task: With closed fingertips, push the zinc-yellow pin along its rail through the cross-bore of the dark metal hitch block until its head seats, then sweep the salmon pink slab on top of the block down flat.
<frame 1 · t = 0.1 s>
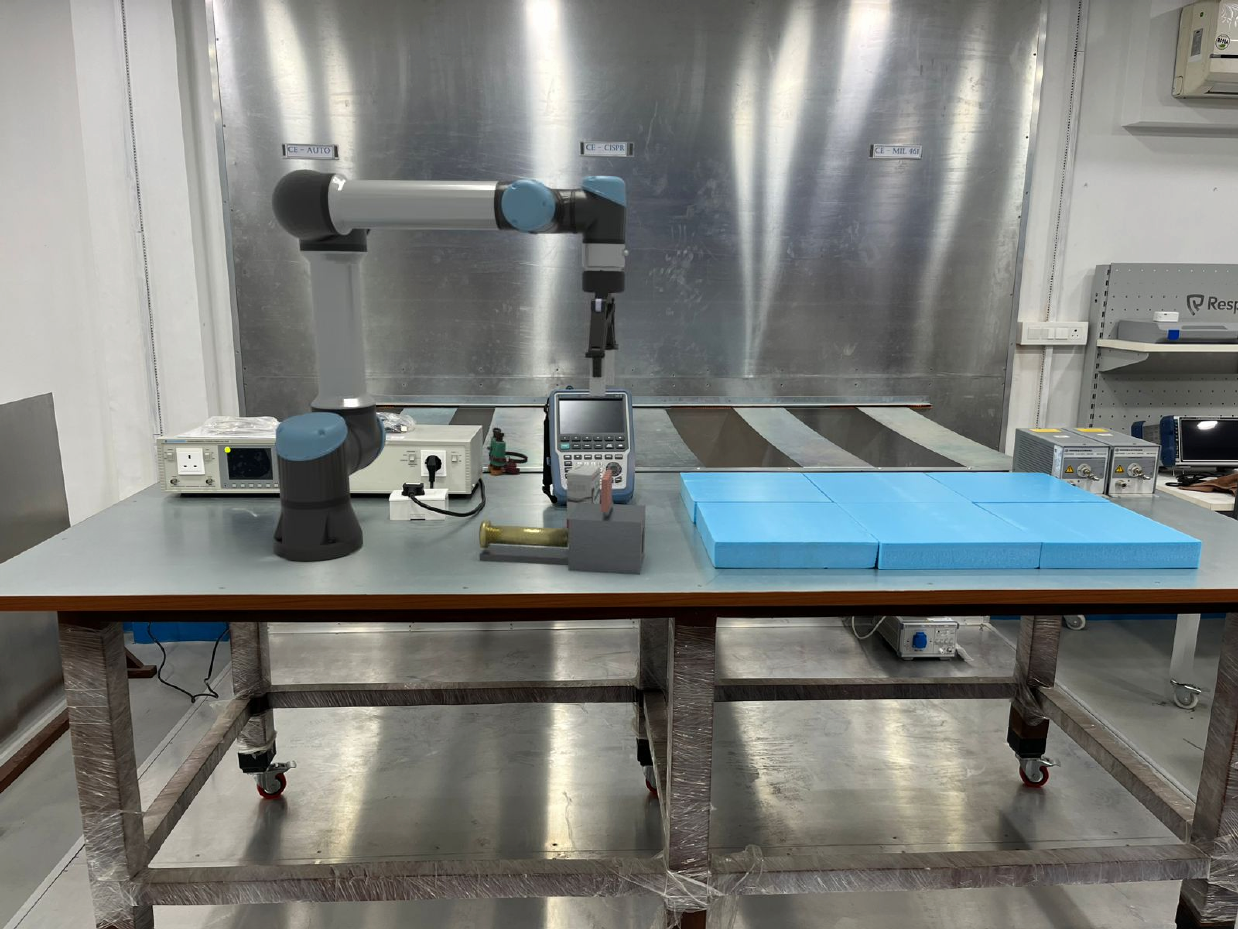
hand: (602, 390, 152), 28 cm above the table, fingers open, 13 cm apart
lynch pin: (524, 536, 146), point 4 cm above the table, slide at 0.0 cm
hitch block: (573, 560, 146), on the table
salmon pink slab: (607, 493, 143), point 12 cm above the table, hinge at 0.0°
ink box: (583, 528, 165), on the table
green pump: (507, 472, 208), on the table
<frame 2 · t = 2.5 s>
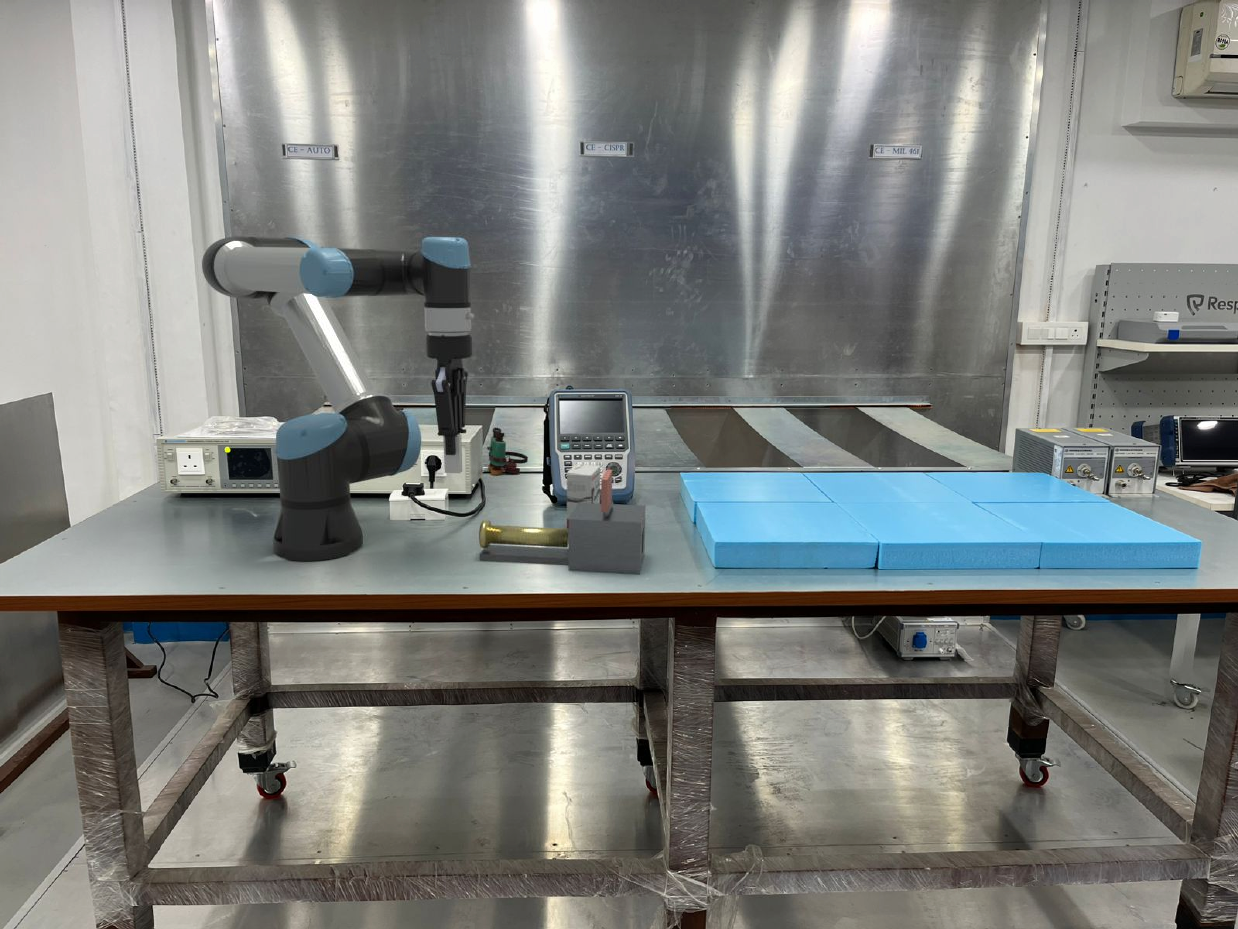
hand: (453, 471, 145), 15 cm above the table, fingers closed
nothing on the table moved.
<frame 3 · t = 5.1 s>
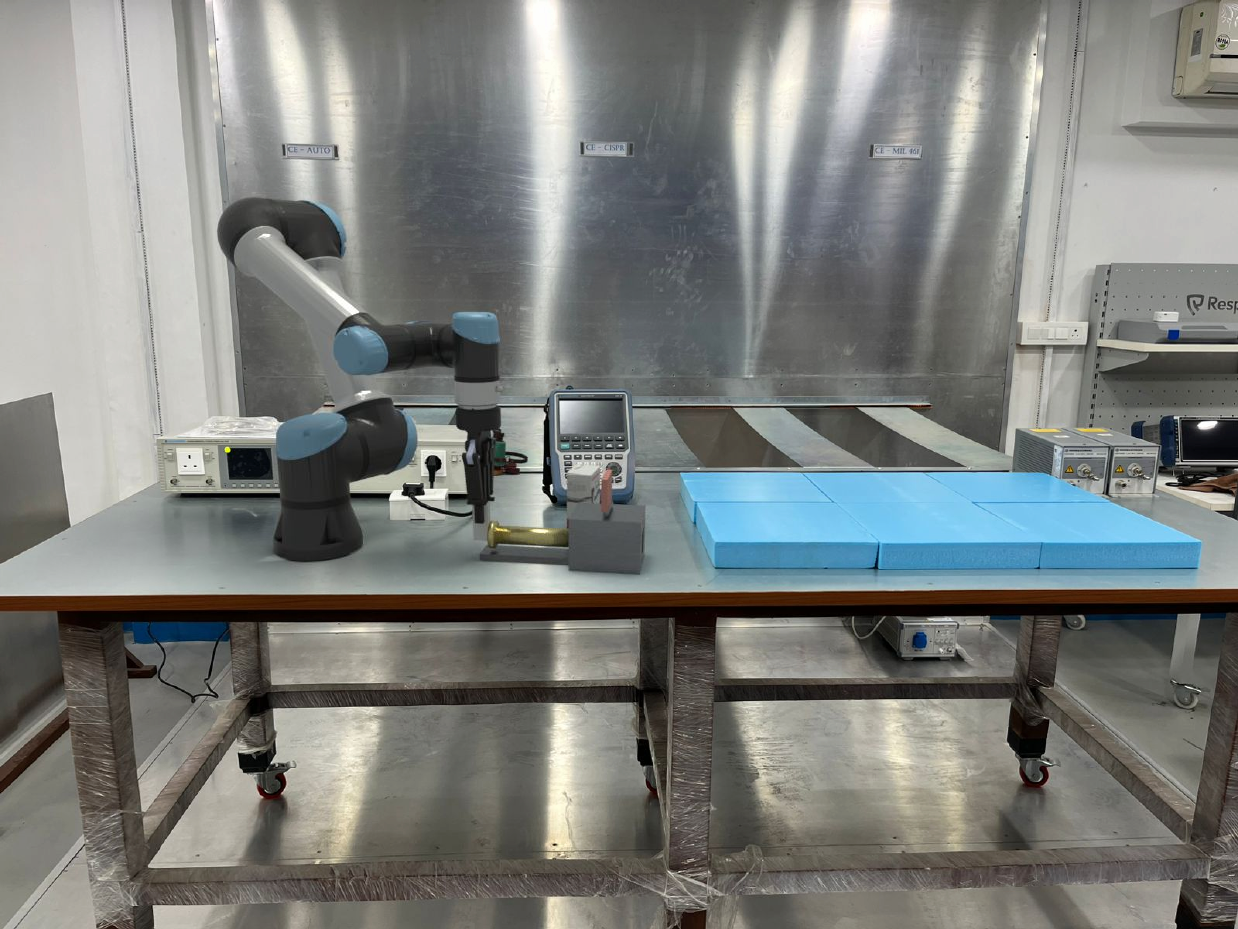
hand: (482, 539, 147), 3 cm above the table, fingers closed
lynch pin: (533, 536, 146), point 4 cm above the table, slide at 1.4 cm, touching gripper
everything else where it was.
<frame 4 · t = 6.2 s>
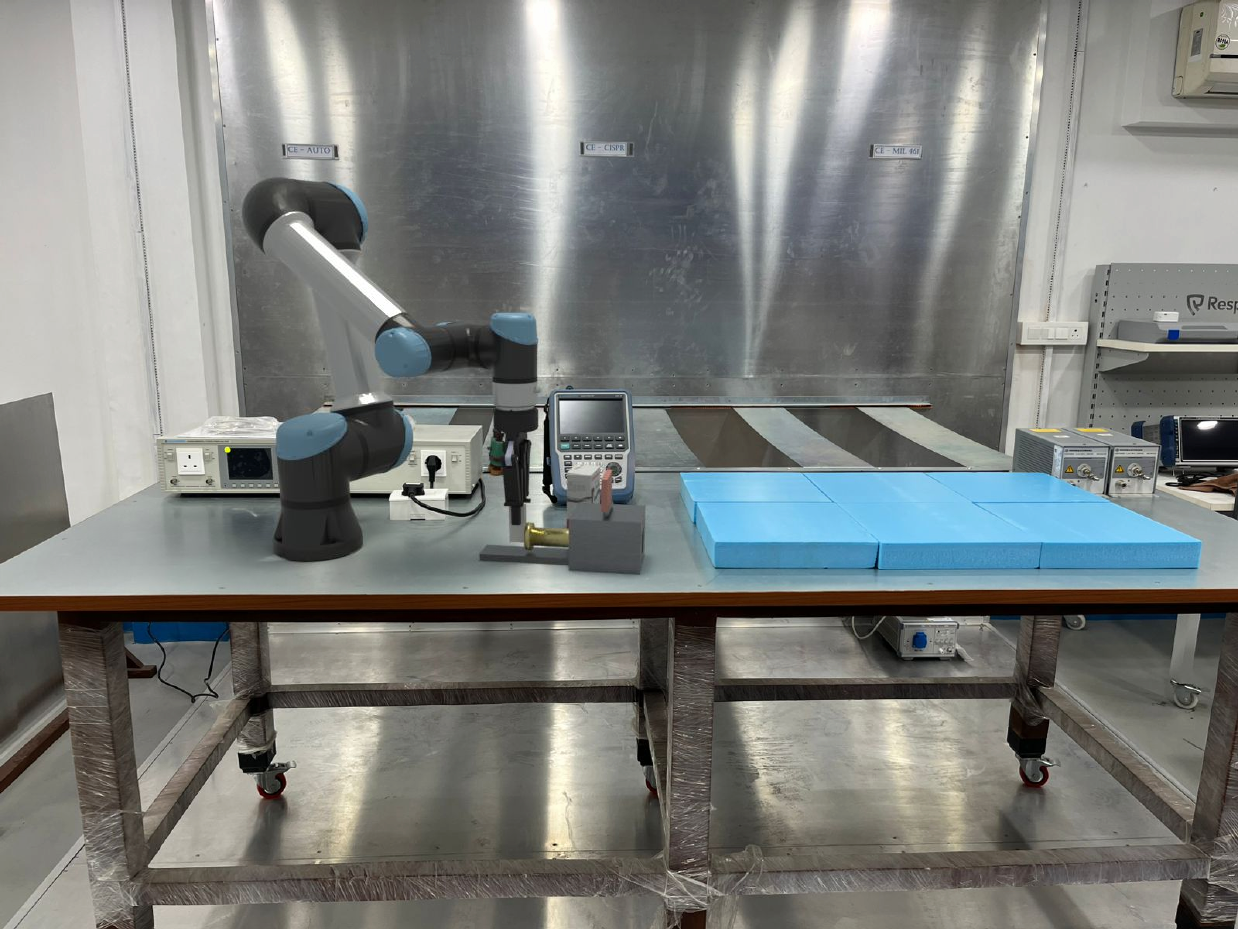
hand: (518, 540, 146), 3 cm above the table, fingers closed
lynch pin: (569, 538, 145), point 4 cm above the table, slide at 7.8 cm, touching gripper
everything else where it was.
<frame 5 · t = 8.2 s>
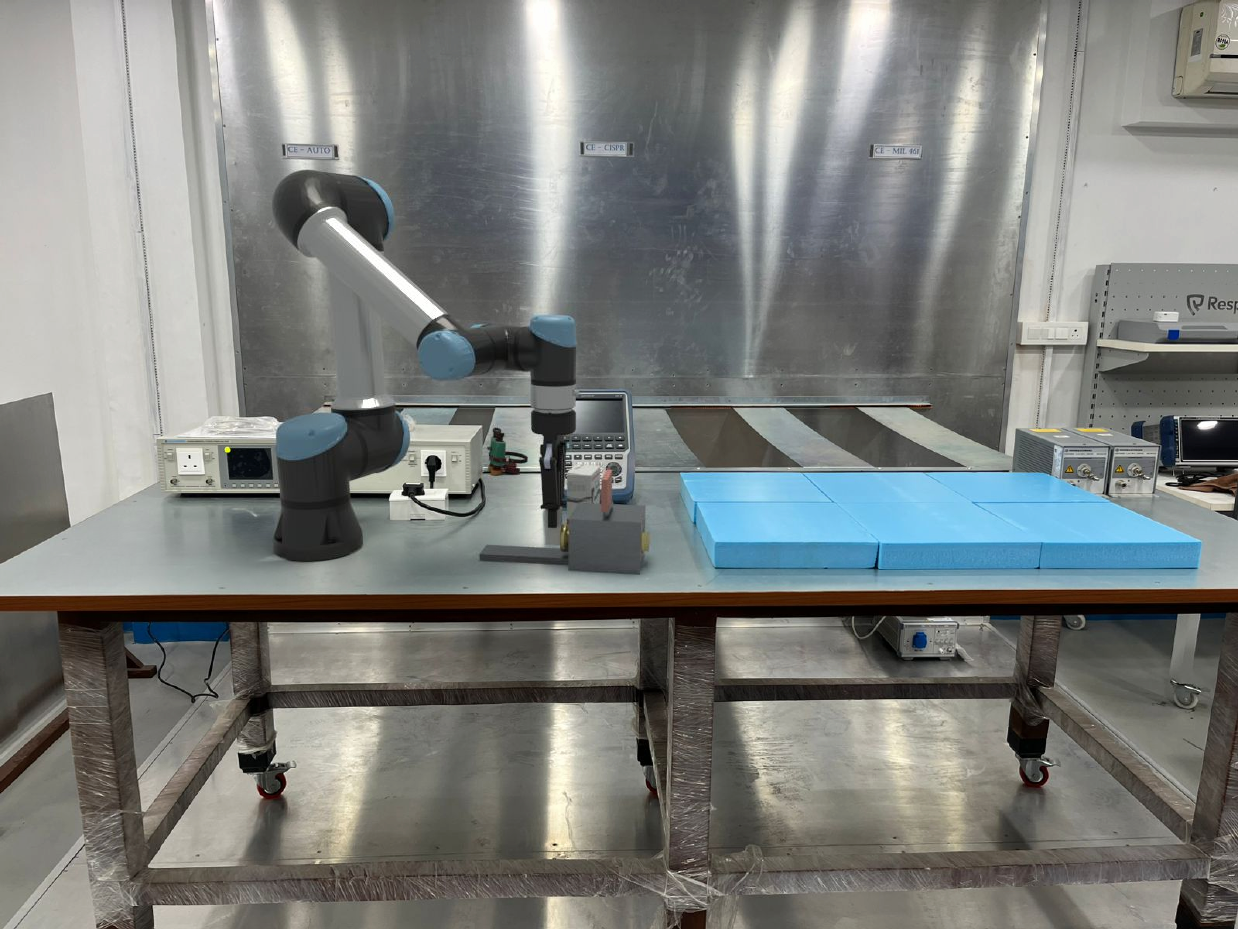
hand: (553, 543, 146), 3 cm above the table, fingers closed
lynch pin: (605, 540, 145), point 4 cm above the table, slide at 14.1 cm, touching gripper
everything else where it was.
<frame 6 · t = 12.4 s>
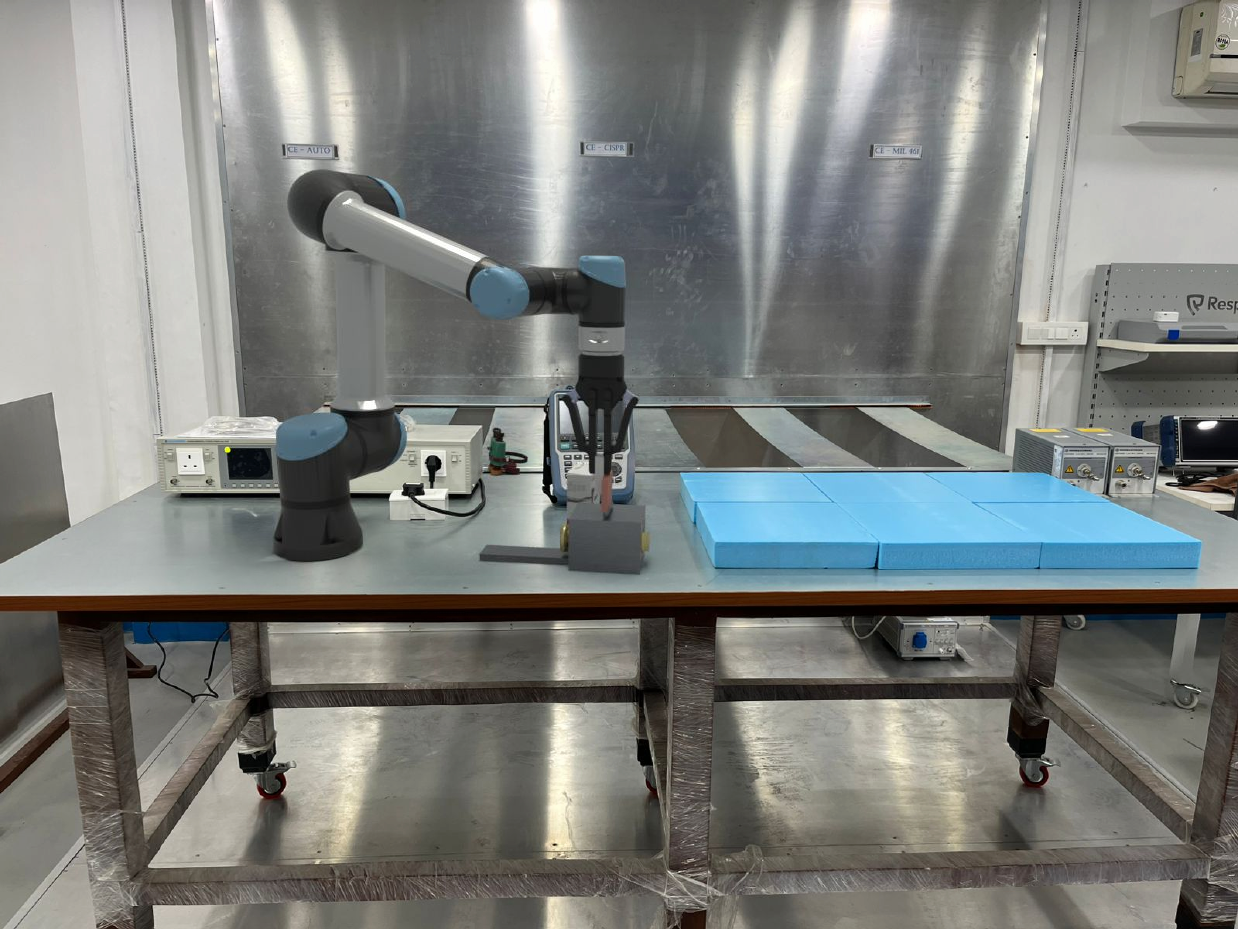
hand: (600, 492, 143), 12 cm above the table, fingers closed
lynch pin: (605, 540, 145), point 4 cm above the table, slide at 14.1 cm
salmon pink slab: (607, 493, 143), point 12 cm above the table, hinge at 0.8°, touching gripper
everything else where it was.
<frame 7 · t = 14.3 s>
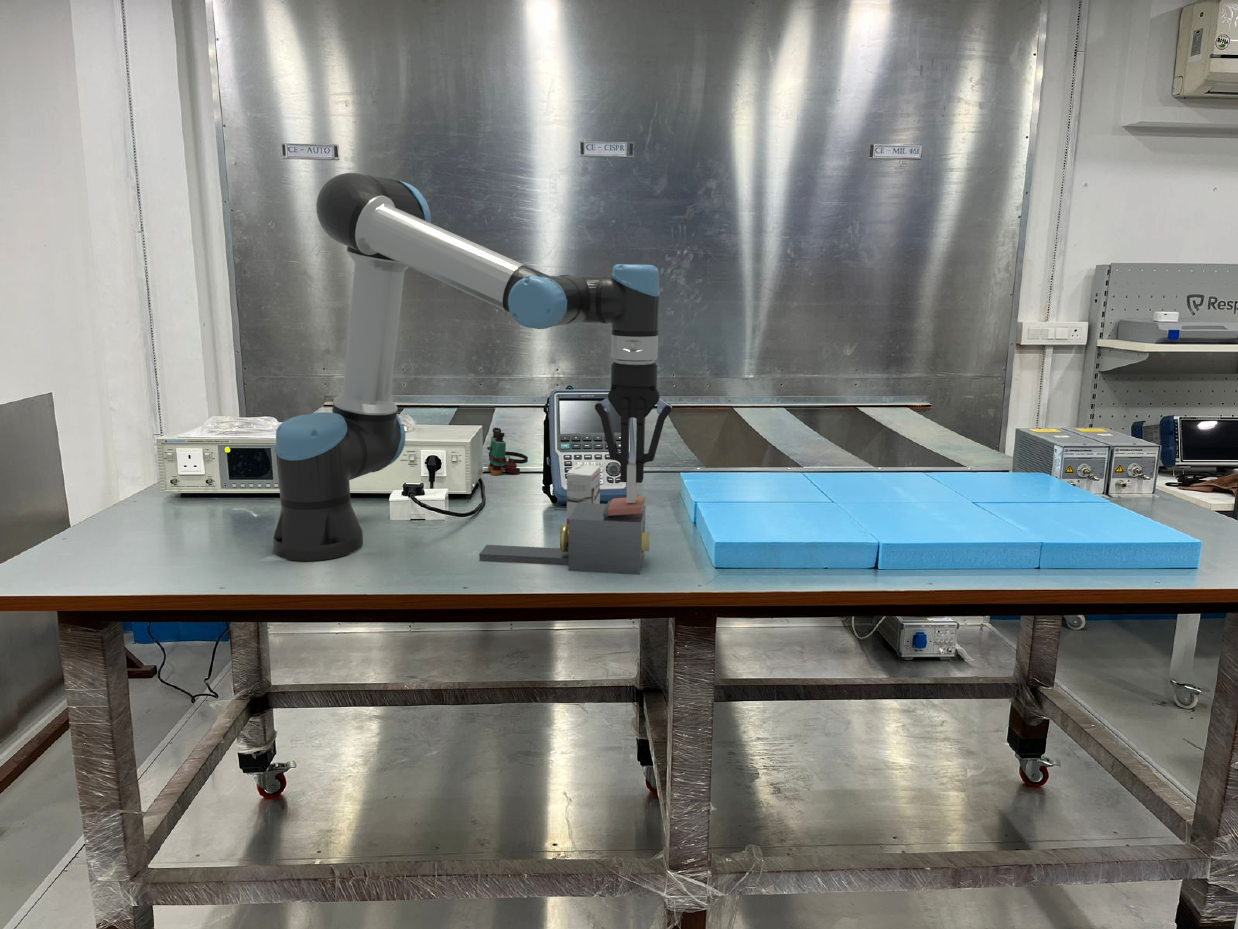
hand: (631, 500, 143), 11 cm above the table, fingers closed
salmon pink slab: (624, 506, 143), point 10 cm above the table, hinge at 82.7°, touching gripper
everything else where it was.
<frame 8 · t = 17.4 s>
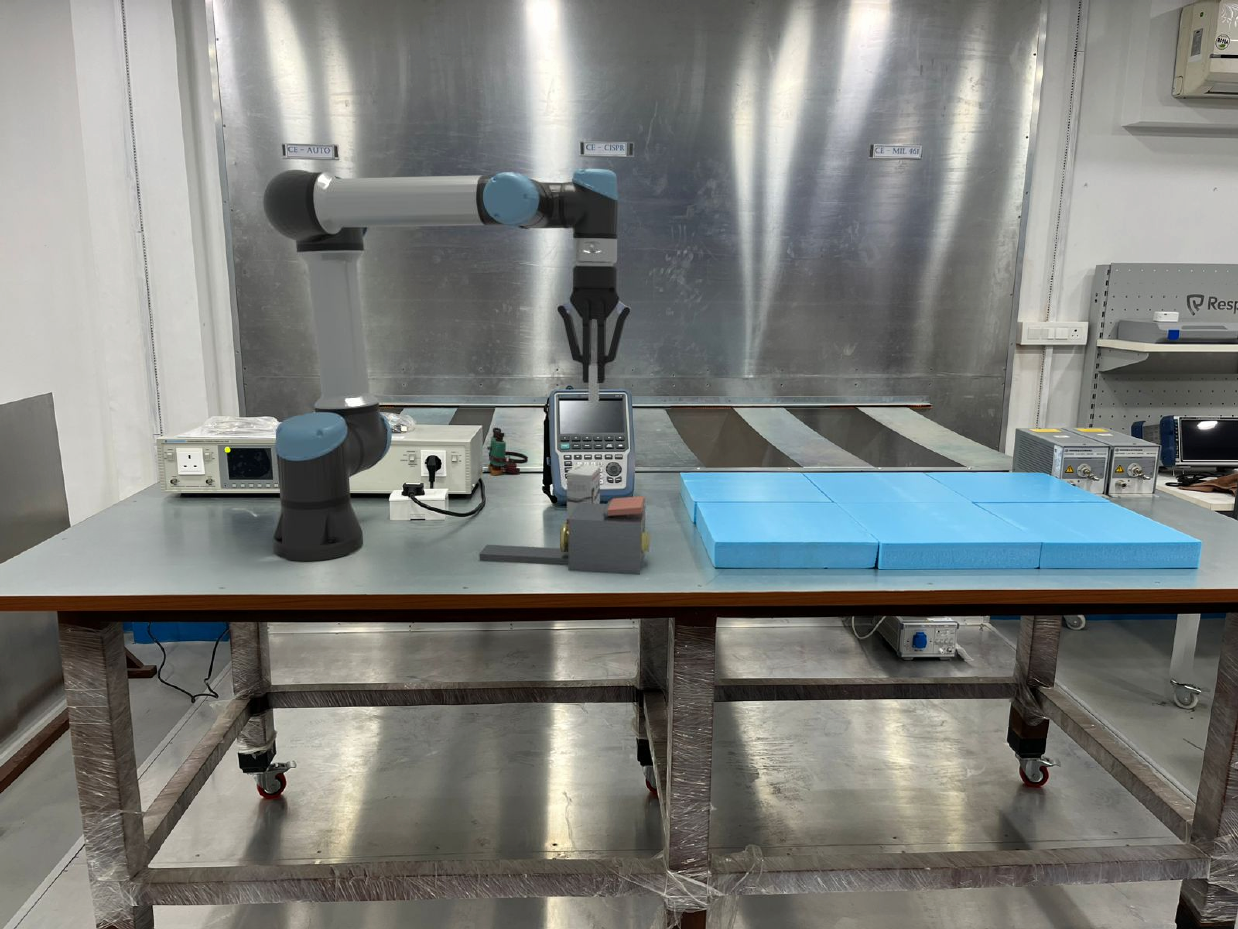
hand: (593, 401, 150), 26 cm above the table, fingers closed
salmon pink slab: (624, 506, 143), point 10 cm above the table, hinge at 82.8°
everything else where it was.
at the end: lynch pin slide at 14.1 cm; salmon pink slab at +83° (first picture: +0°); salmon pink slab touching nothing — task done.
